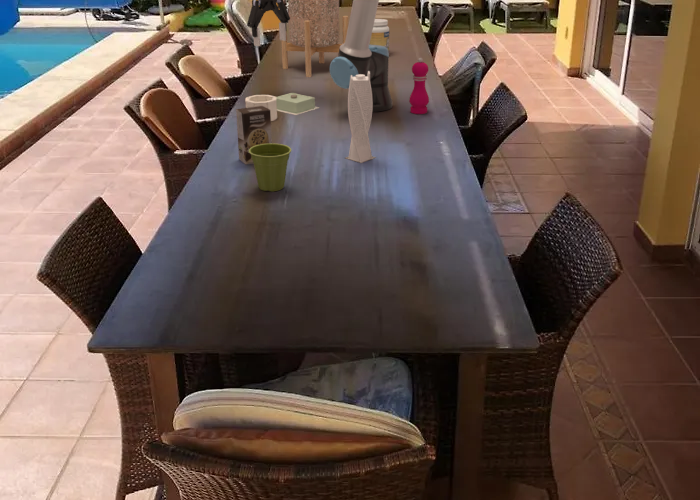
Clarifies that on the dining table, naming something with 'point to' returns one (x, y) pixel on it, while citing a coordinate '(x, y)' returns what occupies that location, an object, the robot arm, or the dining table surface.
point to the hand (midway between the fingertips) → (270, 43)
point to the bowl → (263, 103)
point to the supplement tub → (380, 33)
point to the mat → (295, 113)
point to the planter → (313, 29)
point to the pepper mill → (419, 88)
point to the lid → (295, 103)
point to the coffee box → (252, 130)
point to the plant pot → (270, 165)
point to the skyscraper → (360, 117)
